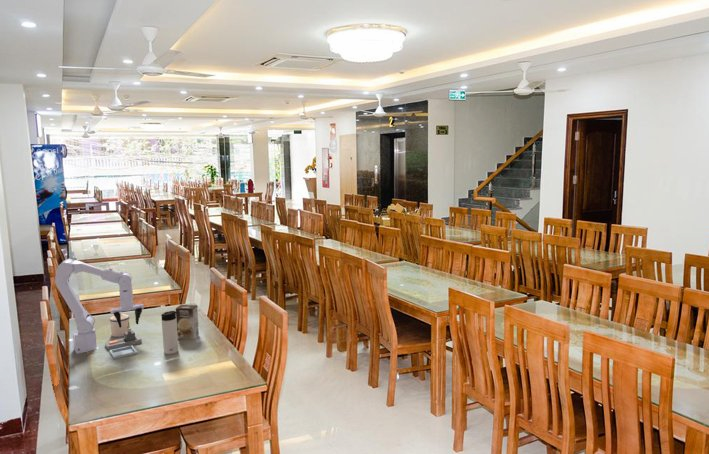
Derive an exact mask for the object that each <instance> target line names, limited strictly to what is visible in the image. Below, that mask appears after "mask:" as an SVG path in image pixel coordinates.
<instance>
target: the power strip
mask: <svg viewBox="0 0 709 454" xmlns="http://www.w3.org/2000/svg"><path fill="white" fill-rule="evenodd" d="M142 343H143V340H142V338H141V337H140V336H139V334H138V335H137V334H135V340H133V341H128V342H125V337H124V338H123V337H122V338H118V339H113V340H109V341H104V345H105V349H106V350H107V351H109V350H113V349H117V348H122V347H126V346H131V345H132V346H135V345H138V344H139V345H140V344H142Z"/></svg>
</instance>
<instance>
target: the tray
mask: <svg viewBox="0 0 709 454" xmlns="http://www.w3.org/2000/svg"><path fill="white" fill-rule="evenodd" d="M108 352H109V354H110V356H111V357H112V358H113V359H114V360H116V359H120V358H125V357H130V356H133V355H138V354H139V353H138V350H137V349H136V348H135V347H134V345H131V346H126V347H122V348H117V349H113V350H108Z"/></svg>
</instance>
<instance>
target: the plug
mask: <svg viewBox="0 0 709 454" xmlns="http://www.w3.org/2000/svg"><path fill="white" fill-rule="evenodd" d="M124 335H125V336H124V338H125V342H128V341H133V340H135V336H136V332H135V331H134V330H132V328H131V327H130V328H128V332H124Z"/></svg>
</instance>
